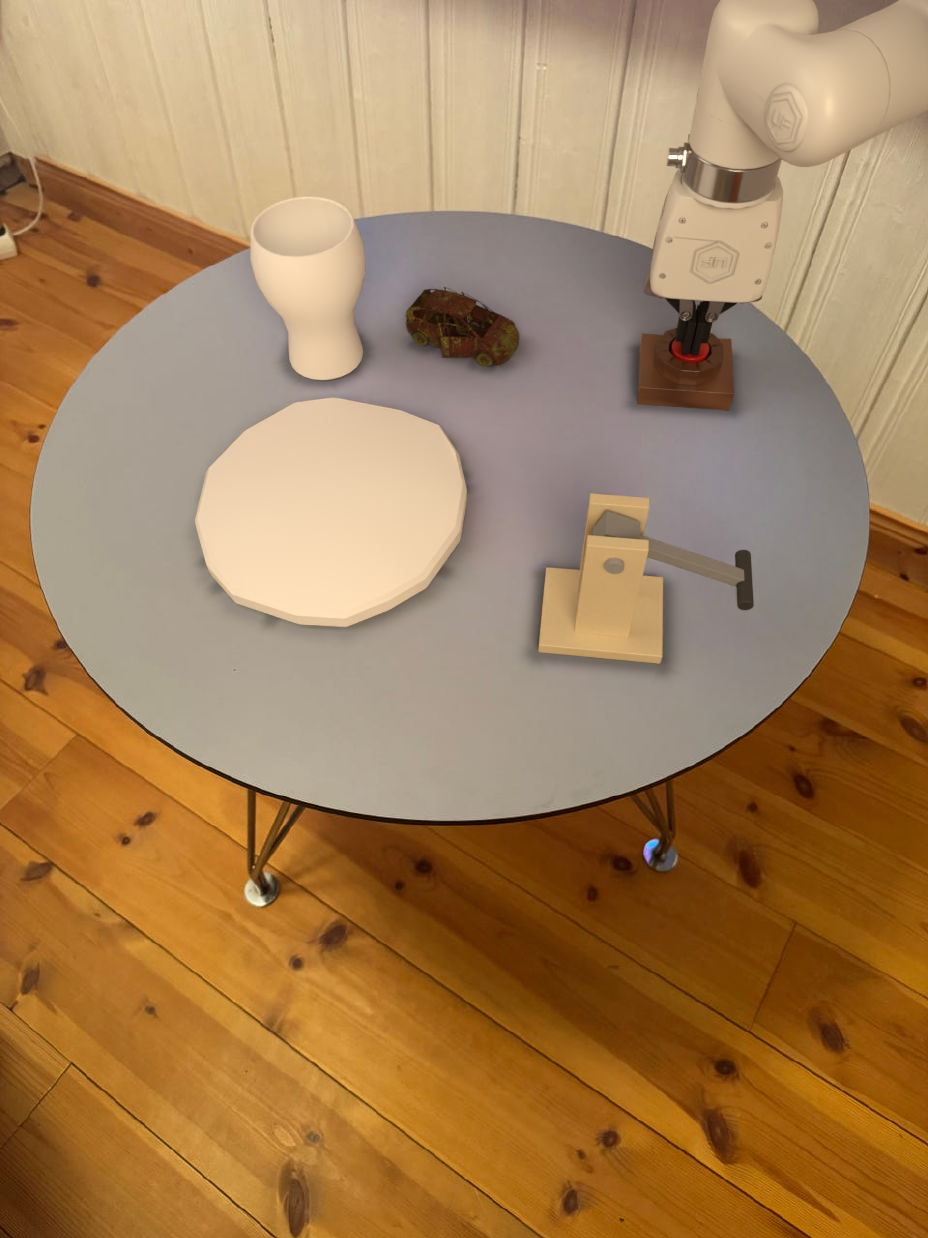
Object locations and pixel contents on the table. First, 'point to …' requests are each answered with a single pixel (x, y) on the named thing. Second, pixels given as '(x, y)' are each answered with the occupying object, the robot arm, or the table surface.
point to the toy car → (461, 327)
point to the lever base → (606, 594)
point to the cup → (312, 280)
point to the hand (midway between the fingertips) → (689, 345)
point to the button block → (685, 374)
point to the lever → (685, 557)
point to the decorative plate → (331, 511)
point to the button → (689, 358)
